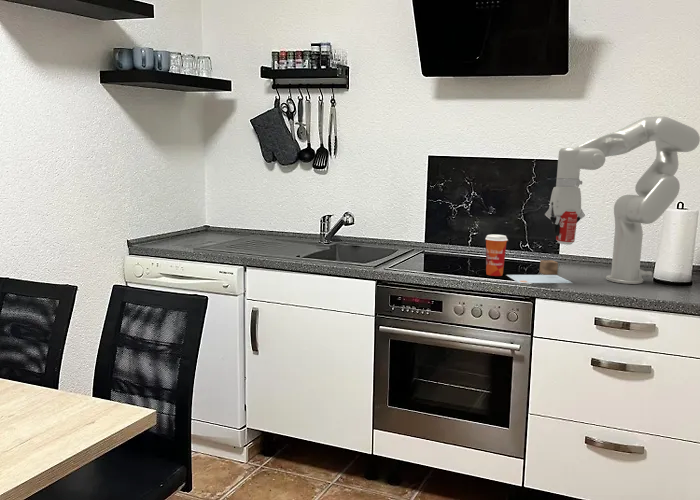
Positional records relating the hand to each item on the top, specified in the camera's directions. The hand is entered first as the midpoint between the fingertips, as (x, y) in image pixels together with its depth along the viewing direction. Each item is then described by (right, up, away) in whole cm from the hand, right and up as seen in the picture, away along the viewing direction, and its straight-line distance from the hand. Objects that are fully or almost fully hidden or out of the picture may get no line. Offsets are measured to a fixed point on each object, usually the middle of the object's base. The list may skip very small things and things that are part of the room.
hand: (563, 234), depth 246 cm
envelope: (-6, -16, +9) cm, 20 cm away
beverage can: (+1, -3, +1) cm, 3 cm away
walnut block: (0, -15, +21) cm, 25 cm away
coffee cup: (-21, -15, +15) cm, 30 cm away
